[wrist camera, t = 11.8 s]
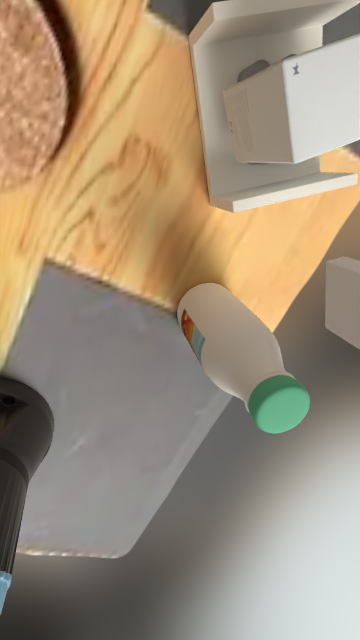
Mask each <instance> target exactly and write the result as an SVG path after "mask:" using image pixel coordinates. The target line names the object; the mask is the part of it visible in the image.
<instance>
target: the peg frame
mask: <svg viewBox="0 0 360 640" xmlns="http://www.w3.org/2000/svg"><path fill="white" fill-rule="evenodd" d="M358 3H360V0H228V1H221V2H214V3H212V4H211V6H210V7H209V8H208V10H207V11H206V12H205V14H204V15H203V17H202V18H201V19H200V21H199V22H198V23H197V25H196V26H195V28H194V29H193V30H192V32H191V33H190V35H189V36H188V38H189V46H190V54H191V61H192V69H193V77H194V84H195V92H196V100H197V107H198V115H199V122H200V130H201V138H202V145H203V153H204V161H205V168H206V176H207V184H208V191H209V199H210V205H211V206H214V207H217V208H220V209H223V210H226V211H229V212H233V213H235V212H240V211H244V210H248V209H253V208H257V207H261V206H265V205H270V204H274V203H278V202H283V201H287V200H291V199H295V198H300V197H304V196H308V195H313V194H317V193H321V192H325V191H330V190H334V189H338V188H343V187H347V186H351V185H355V184H357V177H358V173H328V172H320V160H321V154H320V155H318V156H315V157H312V158H310V159H307V160H304V161H302V162H299V163H296V164H292V163H255V162H237V161H236V157H235V153H234V148H233V143H232V138H231V133H230V128H229V123H228V118H227V113H226V107H225V103H224V97H223V89H225V88H227V87H229V86H231V85H234V84H236V83H238V82H241V81H243V80H245V79H247V78H249V77H251V76H253V75H255V74H257V73H259V72H260V71H262V70H264V69H266V68H268V67H269V66H271V65H273V64H275V63H277V62H279V61H281V60H284V59H286V58H289V57H292V56H295V55H298V54H301V53H303V52H306V51H309V50H312V49H315V48H318V47H321V46H322V26H323V25H324V24H326V23H328V22H329V21H331V20H332V19H334V18H336V17H337V16H339V15H341V14H342V13H344V12H345V11H347V10H349V9H350V8H352V7H354V6H355V5H357V4H358Z"/></svg>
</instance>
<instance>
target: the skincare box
mask: <svg viewBox="0 0 360 640" xmlns="http://www.w3.org/2000/svg"><path fill="white" fill-rule="evenodd" d="M223 97H224V103H225V107H226V113H227V118H228V123H229V128H230V133H231V138H232V143H233V148H234V153H235V157H236V161H237V162H255V163H292V164H296V163H299V162H302V161H304V160H307V159H310V158H312V157H315V156H318V155H320V154H323V153H326V152H328V151H331V150H334V149H336V148H339V147H341V146H344V145H346V144H349V143H352V142H355V141H357V140H360V33H359V34H356V35H353V36H350V37H348V38H345V39H342V40H339V41H336V42H333V43H330V44H327V45H324V46H321V47H318V48H315V49H312V50H309V51H306V52H303V53H301V54H298V55H295V56H292V57H289V58H286V59H284V60H281V61H279V62H277V63H275V64H273V65H271V66H269V67H268V68H266V69H264V70H262V71H260V72H259V73H257V74H255V75H253V76H251V77H249V78H247V79H245V80H243V81H241V82H238V83H236V84H234V85H231V86H229V87H227V88H225V89H223Z"/></svg>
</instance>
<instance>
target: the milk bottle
mask: <svg viewBox="0 0 360 640" xmlns="http://www.w3.org/2000/svg"><path fill="white" fill-rule="evenodd" d="M177 319H178V323H179V325H180V327H181V329H182V331H183V333H184V335H185V337H186V339H187V341H188V342H189V344H190V346H191V348H192V350H193V352H194V353H195V355H196V357H197V359H198V360H199V362H200V364H201V366H202V367H203V369H204V370H205V372H206V373H207V375H208V376H209V377H210V379H211V380H212V381H213V382H214V383H215V384H216V385H217V386H218V387H220V388H221V389H222V390H224V391H226V392H228V393H230V394H232V395H234V396H236V397H239V398H240V399H242V400H243V401H244V402H245V406H246V409H247V411H248V412H249V413H250V415H251V416H252V419H253V420H254V422H255V423H256V425H257V426H258V427H259V428H261V429H262V430H263V431H265V432H268V433H281V432H284V431H287V430H289V429H291V428H293V427H295V426H296V425H297V424H298V423H299V422H301V421H302V419H303V418H304V417H305V415H306V414H307V412H308V409H309V406H310V398H309V395H308V393H307V391H306V389H305V388H304V387H303V386H302V385H301V384H300V383H299V382H298V381H297V380H296V379H295V378H294V377H293V375H291V374H290V373H288V372H285V369H284V367H283V362H282V356H281V351H280V348H279V345H278V342H277V340H276V338H275V337H274V335H273V334H272V332H271V331H270V329H269V328H268V327H267V326H266V325H265V324H264V323H263V322H262V321H261V320H260V319H259V318H258V317H257V316H256V315H255V314H254V313H253V312H252V311H251V310H250V309H249V308H248V307H246V306H245V305H244V304H243V303H242V302H241V301H240V300H239V299H238V298H237V297H236V296H234V295H233V294H232V293H231V292H230V291H229V290H228V289H226V288H225V287H224V286H222V285H219V284H216V283H203V284H200V285H197V286H195V287H193V288H191V289H190V290H189V291H188V292H186V294H185V295H184V296H183V297H182V299H181V301H180V303H179V305H178V309H177Z"/></svg>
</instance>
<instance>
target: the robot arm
mask: <svg viewBox="0 0 360 640" xmlns="http://www.w3.org/2000/svg"><path fill="white" fill-rule="evenodd" d="M325 327H326V328H327V329H329V330H330V331H332V332H333V333H335V334H337V335H338V336H340V337H341V338H343V339H345V340H346V341H347V342H349V343H350V344H352V345H354V346H355V347H357V348H358V349H360V261H358V260H355V259H352V258H348V257H345V256H344V257H341V258H337V259H334V260H330V261H327V262H326V316H325ZM53 431H54V418H53V414H52V411H51V409H50V407H49V405H48V404H47V402H46V401H45V400H44V399H43V398H42V397H41V396H40V395H39V394H38V393H37V392H35V391H34V390H32V389H31V388H29V387H27V386H25V385H23V384H21V383H19V382H16V381H13V380H9V379H5V378H0V614H1V611H2V607H3V602H4V599H5V595H6V592H7V589H8V588H9V586H10V583H11V575H12V569H13V564H14V558H15V553H16V547H17V542H18V537H19V531H20V526H21V520H22V515H23V509H24V504H25V498H26V493H27V488H28V484H29V481H30V480H31V478H32V476H33V475H34V473H35V471H36V470H37V468H38V466H39V464H40V463H41V462H42V460H43V459H44V457H45V456H46V454H47V453H48V451H49V448H50V446H51V442H52V437H53Z"/></svg>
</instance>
